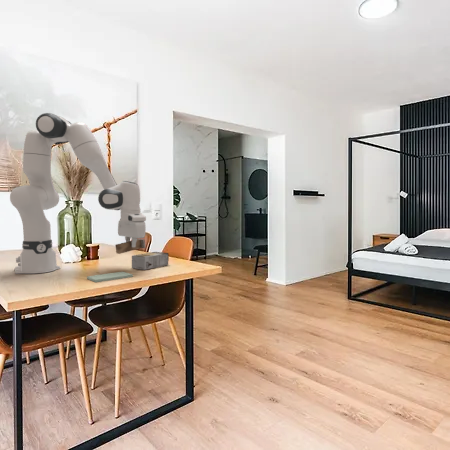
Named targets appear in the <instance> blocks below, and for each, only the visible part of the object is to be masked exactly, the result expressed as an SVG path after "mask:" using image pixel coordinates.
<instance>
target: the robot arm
mask: <svg viewBox="0 0 450 450" xmlns="http://www.w3.org/2000/svg"><path fill="white" fill-rule="evenodd" d="M35 120H36V121H35V128H36V129H32V130H29V131H28V132H27V133H26V135H25V138H24V143H23V152H22V153H23V155H22V157H23V158H22V160H23V161H22V171H23V174H24V175H25V176H26V177H27V180H28V183H29V184H24V185H21V186H20V185H19V186H16V187H14V188H13V189H12V190H11V191H10V194H9V201H10V203H11V205H12V206H13V207H14V208H16V210H17V212H18V214H19V216H20V219H21V223H22V231H23V232H22V233H23V235H22V236H23V241H22V244H21V245H22V248H21V249H22V251H21V252H20V254H19V256H18V257H16V258H15V263H17V266H15V267H14V274H41V273H43V274H44V273H50V272H53V271H56V270H59V269H61V266H60V265H57V264H58V263H57V254H56V253H57V252H56V251H55V250H54V249H53V240H52V236H51V234H52V231H51V223H50V220H48V219H47V217H46V215H45V212H44V210H45V211H46V210H50V209H53V208H55V207H56V206H58V204H59V202H60V195H59V193H58V191H56V189H55V186H54V183H53V179H52V171H51V169H52V167H51V164H52V147H53V145H56V146H57V145H61V144H66V143H69V144H70V146H71V148H72V151H73V152H74V154H75V157H76V158H77V160H78V161H79V162H80V164H81V165H82V166H84V167H86V168H87V169H88V170H90V171H92V173H94V175H95V176H96V177H97V179H98V180H99V182H100V184H101V186H102V188H103V190H101V191H100V192H99V194H98V198H97V200H98V203H99V205H100V207H102V208H103V209H105V210H112V211H113V210H114V211H120V219H119V220H118V222H117V233H118V234H117V235H118V236H120V237H124V240H125V242H129V241H132V243H131V247H136V242H137V239H145V236H146V233H147V232H146V227H147V226H146V220H147V217H146V216H145V215H144V214H143V213H141V208H140V203H141V191H140V186H139V185H138V184H137V183H136V182H133V181H129V180H128V181H127V180H122V181H121V182H119V183H118V184H117V182H116V180H115V178H114V176H113V175H112V172H111V171H110V169H109V167H108V165H107V163H106V159H105V157H104V155H103V152H102V150H101V148H100V145H99V143H98V141H97V139H96V137H95V135H94V133H93V132H92V130H91V129H90V128H89V127H88V125H87V124H86V123H85V122H82V121H76V122H73V123H71V122H70V121H69V120H67V119H66V118H64V117H62V116H58V115H57V114H55V113H51V112H45V113H42V114H40V115H38V117H37V118H36V119H35Z"/></svg>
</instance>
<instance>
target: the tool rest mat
mask: <svg viewBox="0 0 450 450" xmlns="http://www.w3.org/2000/svg"><path fill="white" fill-rule="evenodd" d="M133 276H134V275H133V273H129V272H125V271H118V272H110V273H104V274H103V273H102V274H95V275H89V276H86V280H89V281H91V282H94V283H101V282H107V281H113V280H121V279H126V278H127V279H129V278H133Z"/></svg>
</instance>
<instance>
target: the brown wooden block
mask: <svg viewBox="0 0 450 450" xmlns="http://www.w3.org/2000/svg"><path fill="white" fill-rule="evenodd" d="M131 243H132V240H130V241H129V242H126V241H124V242H121V243H116V244H114V245H115V250H116V251H115V252H116V254H117V255H118V254H119V255H122V254H126V253H128V252H131V251H136V250H139V249H146V240H145V238H137V242H136V247H131Z"/></svg>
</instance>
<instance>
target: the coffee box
mask: <svg viewBox="0 0 450 450" xmlns="http://www.w3.org/2000/svg"><path fill="white" fill-rule="evenodd" d="M169 256H170V255H169V253H168V252H162V251H153V252H147V253H139V254H133V255H132V256H131V269H136V270H144V271H145V270H151V269H155V268H161V267H165V266H169Z"/></svg>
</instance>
